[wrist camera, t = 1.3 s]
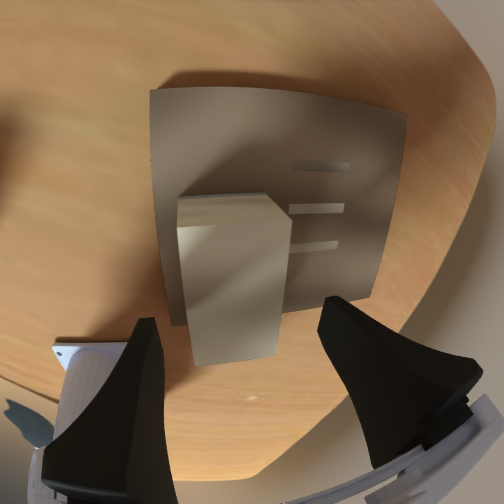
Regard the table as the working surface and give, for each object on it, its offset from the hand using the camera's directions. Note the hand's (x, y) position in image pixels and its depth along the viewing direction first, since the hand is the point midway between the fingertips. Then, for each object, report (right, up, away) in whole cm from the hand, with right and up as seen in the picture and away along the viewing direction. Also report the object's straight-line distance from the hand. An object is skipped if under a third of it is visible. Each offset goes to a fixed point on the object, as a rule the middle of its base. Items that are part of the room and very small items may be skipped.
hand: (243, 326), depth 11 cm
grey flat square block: (+2, +6, +6) cm, 8 cm away
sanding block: (-1, +2, +5) cm, 5 cm away
